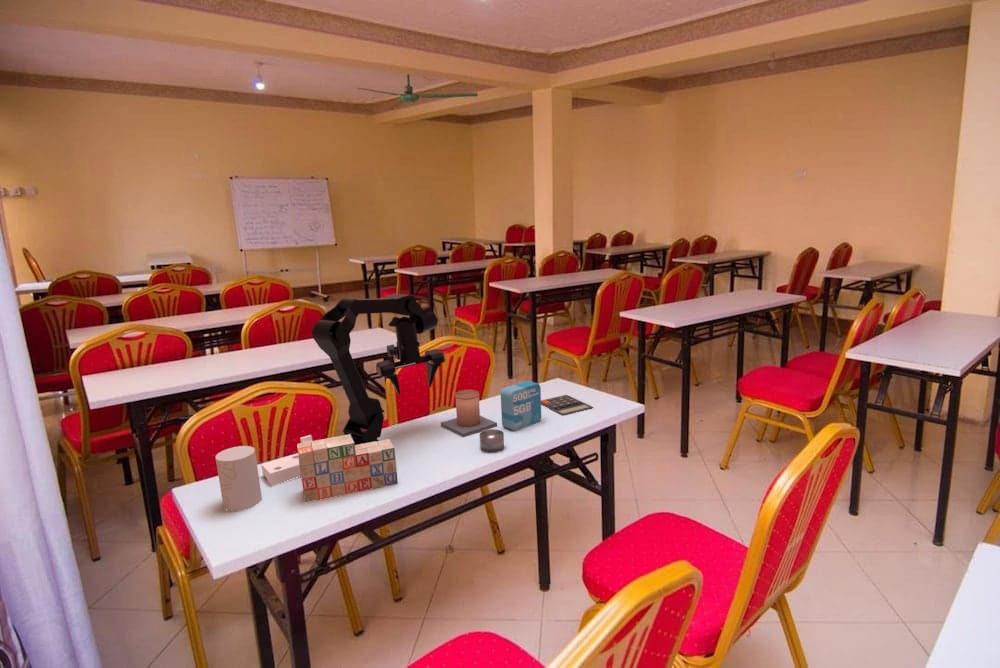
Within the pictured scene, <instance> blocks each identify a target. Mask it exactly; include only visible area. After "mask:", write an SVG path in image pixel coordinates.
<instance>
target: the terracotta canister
mask: <svg viewBox="0 0 1000 668" xmlns="http://www.w3.org/2000/svg"><path fill="white" fill-rule="evenodd" d="M454 397H455V409H456V411H455V412H456V418H457V424H458V425H459V426H462V427H472V426H476V425H478V424H479V423H480V416H481V415H480V414H481V412H480V393H479V391H478V390H474V389H464V390H463V389H462V390H459V391H457V392H455V394H454Z"/></svg>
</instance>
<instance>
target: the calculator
mask: <svg viewBox="0 0 1000 668" xmlns="http://www.w3.org/2000/svg"><path fill="white" fill-rule="evenodd" d="M541 406H543V407H544V406H545V408H546V407H547V408H546V409H548V408H549V410H551V412H554V413H556V414H558V415H560V416H567V415H571V414H577V413H580V411H581V412H584V410H585V411H588V409H589V410H593V409H594V406H592V405H590V404H587V403H586V402H583V401H582V400H579V399H578V398H575V397H572V396H571V395H568V394H564V395H560V396H554V397H550V398H546V399H541ZM592 408H593V409H592ZM576 412H577V413H576Z"/></svg>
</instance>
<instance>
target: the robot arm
mask: <svg viewBox="0 0 1000 668" xmlns="http://www.w3.org/2000/svg"><path fill="white" fill-rule="evenodd" d="M383 313H384V314H389V315H397V316H401V317H396V316H393V317H392V320H390V321H389V323H388V327H394V329H395V335H396V346H395V344H388V345H386V351H387V356H388V357H393V356H394V359H397V360H398V361H395V362H393V361H391V360H390V359H386V360H382V361H378V362H377V363H376V364H375V371H376V373H377V374H378V375H379V376H380V377H382V378H385V379H387V380H388V379H389V381H390V382H391V384H392V386H393V388H394V389H395V392H396V393H397V395H398V396H401V389H400V382H399V377H398V374H396V370H398V369H402V368H406V367H411V366H415V365H420V364H425V367H426V380H427V386H428V388H431V387H432V384H433V381H434V378H435V375H436V373H437V371H438V368H440V367H441V366H442V364H443V363H445V362H446V357H445V353H443V352H442V351H440V350H439V349H436V348H435V349H431V350H426V351H425V352H424V354H423V355H421V352H420V346H421V344H420V342H419V338H418V334H419V335H420V334H424V333H426V332H428V331H430V330H433V329H435V328H437V325H438V321H439V320H438V317H437V315H436V313H434V312H433V311H432V307H431V306H426V305H425V306H423V307H422V306H421V305H420V304H419V303H418V301H417V299H416V298H415V295H412V294H406V293H405V294H403V293H391V294H389V295H385V296H384V297H382V298H381V297H380V298H349V297H345V298H342V299H340V300H339V301H338V303H337V304H336V305H335V306H334V307H332V308H331V309H330V310H329V311H327V312H325V313H324V314H323V315H322V317H320V319H319V320H317V321H316V322H315V324H314V325H313V327H312V330H311V335H312V338H313V341H315V343H316V344H317V346H318V348H320V350H322V351H323V352H324V353H325V354H326V355H327V356H328V357H329V358H330V361H331V363H332V366H333V367H334V370H335V372H336V374H337V377H338V379H339V382H340V384H341V387H342V388H343V391H344V393H345V395H346V397H347V399H348V401H349V402H348V403H349V406H348V416H349V419H348V420H347V422H346V424H345V425H344V428H343V429H342V433H343V434H344V435H348V434H350V435H351V437H352V439H353V441H354V444H355V445H359V444H365V443H369V442H374V441H380V440H379V439H378V438H380V437H381V435H382V431H383V425H384V424H383V423H384V420H385V416H384V413H385V410H384V409H383V407H382V404H381V401H380V400H379V399H378V398H375V397H370V396H369V395H368V393H367V390H366V388H365V385H364V382H363V380H362V378H361V376H360V373H359V371H358V369H357V367H356V364H355V362H354V359H353V357H352V354H351V351H350V347H351V341H352V340H351V336H350V334H351V332H352V331H353V330H354V328H355V326H356V322H357V317H358V316H359V315H364V314H383ZM340 320H342V321H340Z"/></svg>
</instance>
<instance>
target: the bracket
mask: <svg viewBox="0 0 1000 668" xmlns="http://www.w3.org/2000/svg"><path fill="white" fill-rule="evenodd" d="M311 441H314V440H313V436H312V435H311V434H309V435H305V436H302V437H300V443H305V442H311ZM298 456H299V455H298V453H295V454H292V455H288V456H285V457H282V458H278V459H275V460H272V461H268V462H265V463H262V464H261V471H262V475H263V476H264V477H265V479H267V480H268V481H267V482H268V483H269V484H270V485H271V486H272V485H274V486H276V485H275V484H277V485H279V484H278V483H280V484H282V483H281V482H284V481H287V480H290V479H293V478H296V477H299V476H301V472H300V466H299V458H298ZM299 478H300V477H299ZM296 479H297V478H296ZM293 480H294V479H293ZM290 481H291V480H290ZM287 482H288V481H287ZM284 483H285V482H284Z"/></svg>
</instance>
